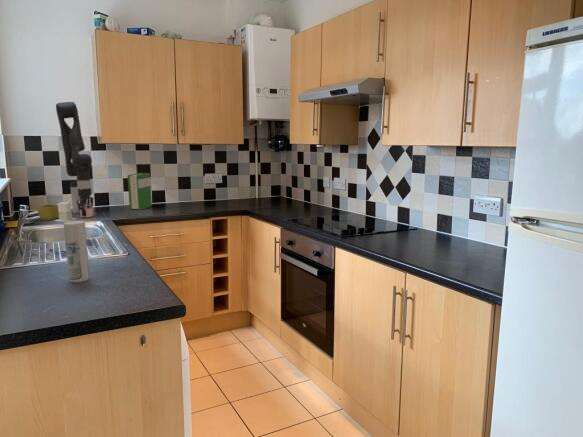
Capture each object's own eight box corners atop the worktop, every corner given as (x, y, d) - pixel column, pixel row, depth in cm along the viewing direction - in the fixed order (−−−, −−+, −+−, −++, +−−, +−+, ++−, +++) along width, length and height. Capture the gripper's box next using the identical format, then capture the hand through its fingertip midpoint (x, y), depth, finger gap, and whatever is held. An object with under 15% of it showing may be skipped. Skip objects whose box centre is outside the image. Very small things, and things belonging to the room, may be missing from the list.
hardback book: (139, 210, 303) (137, 175, 299) (129, 209, 304) (127, 175, 300) (151, 206, 320) (149, 173, 316) (142, 206, 321) (140, 173, 317)
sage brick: (64, 218, 264) (63, 210, 263) (72, 218, 264) (71, 210, 263) (59, 220, 259) (58, 211, 259) (67, 220, 259) (66, 211, 258)
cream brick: (63, 210, 263) (62, 202, 263) (71, 210, 263) (70, 202, 262) (58, 211, 259) (57, 203, 258) (66, 211, 258) (65, 203, 257)
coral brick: (85, 215, 272) (84, 207, 271) (93, 215, 271) (92, 207, 270) (80, 217, 267) (79, 208, 266) (88, 217, 266) (87, 209, 265)
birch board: (63, 219, 267) (63, 217, 267) (78, 219, 266) (78, 218, 266) (52, 222, 257) (52, 220, 257) (68, 222, 256) (68, 221, 256)
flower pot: (50, 222, 258) (49, 207, 257) (37, 221, 260) (36, 206, 259) (61, 219, 267) (59, 205, 265) (48, 219, 269) (47, 204, 267)
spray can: (64, 281, 150) (58, 223, 147) (79, 275, 156) (74, 220, 153) (79, 283, 148) (73, 224, 144) (94, 277, 154) (89, 221, 150)
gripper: (85, 186, 273) (87, 213, 276) (71, 189, 259) (74, 217, 262) (96, 186, 272) (98, 213, 275) (83, 189, 258) (86, 217, 261)
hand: (86, 215), depth 269 cm, fingers closed on coral brick, 5 cm apart
